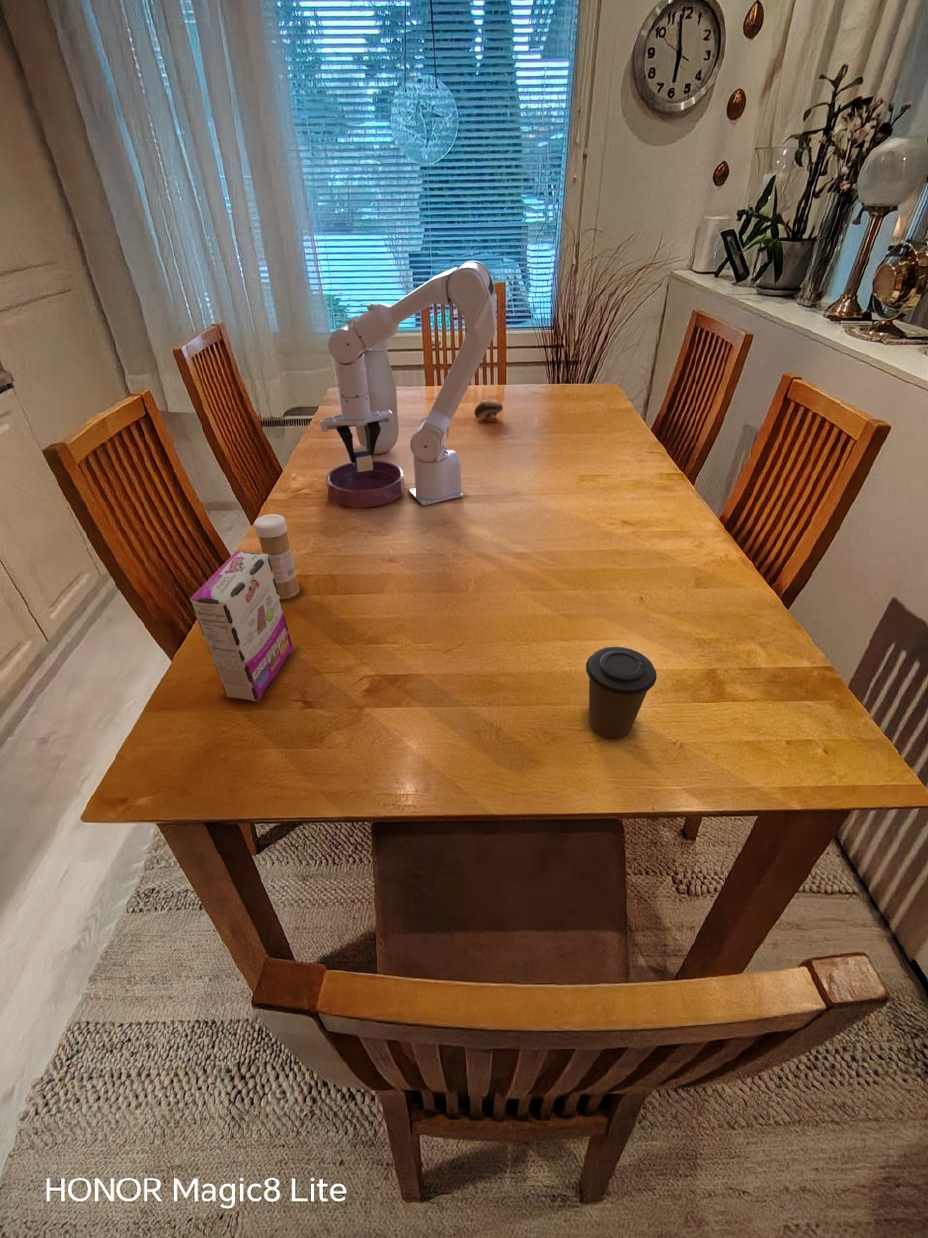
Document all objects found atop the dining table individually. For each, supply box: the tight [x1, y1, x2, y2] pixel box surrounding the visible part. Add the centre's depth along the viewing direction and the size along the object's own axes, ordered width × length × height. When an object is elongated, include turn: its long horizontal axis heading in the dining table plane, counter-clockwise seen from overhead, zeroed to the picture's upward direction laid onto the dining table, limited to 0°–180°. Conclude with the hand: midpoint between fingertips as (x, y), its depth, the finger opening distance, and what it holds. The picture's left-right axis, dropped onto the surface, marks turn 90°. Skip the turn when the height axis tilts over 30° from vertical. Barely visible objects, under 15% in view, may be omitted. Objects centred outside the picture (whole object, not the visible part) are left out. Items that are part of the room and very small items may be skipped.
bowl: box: [325, 460, 405, 508], centre depth 127 cm, size 16×16×4 cm
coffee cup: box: [585, 646, 658, 740], centre depth 71 cm, size 8×8×10 cm
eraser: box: [353, 446, 373, 472], centre depth 124 cm, size 6×3×3 cm, turn 22°
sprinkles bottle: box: [254, 513, 300, 600], centre depth 93 cm, size 5×5×14 cm
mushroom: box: [474, 398, 504, 423], centre depth 163 cm, size 8×8×6 cm
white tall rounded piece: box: [355, 340, 400, 455], centre depth 138 cm, size 10×10×28 cm
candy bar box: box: [189, 550, 294, 703], centre depth 77 cm, size 11×5×16 cm, turn 168°
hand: (361, 459), depth 124 cm, fingers closed on eraser, 3 cm apart
